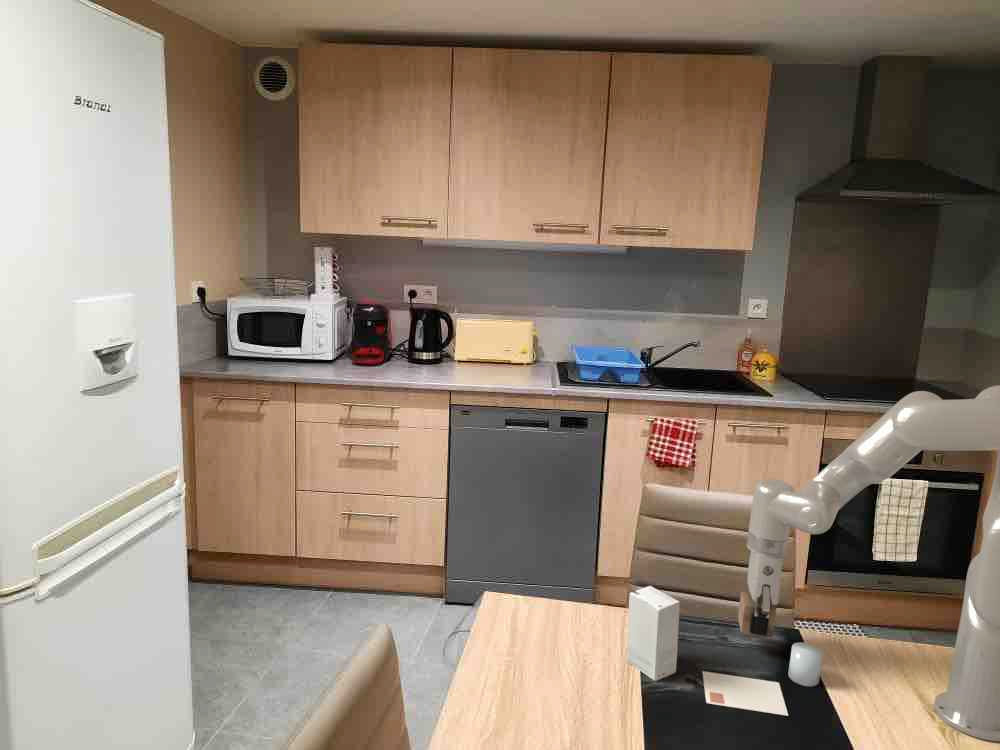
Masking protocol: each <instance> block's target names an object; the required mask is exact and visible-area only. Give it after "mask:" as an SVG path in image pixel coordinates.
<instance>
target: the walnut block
mask: <svg viewBox="0 0 1000 750" xmlns="http://www.w3.org/2000/svg"><path fill="white" fill-rule="evenodd" d="M739 598H740V599H739V606H738V613H737V620H738V621H737V622H738V626H739V630H740V633H741V634H744V635H751V636H757V637H765V638H771V639H773V638H774V631H775V624H776V617H777V607H776V605H774V604H772V601H771V598H770V612H769V623H768V629H767V635H765V636H764V635H758V634H751V633H750V624H751V617H752V614H754V601H753V600H752V597H751V594H750V593H749V591H748V592H747V591H740V597H739ZM758 600H762V598H761V597H759V598H758ZM761 606H762V604H758V609H759V607H761Z"/></svg>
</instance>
